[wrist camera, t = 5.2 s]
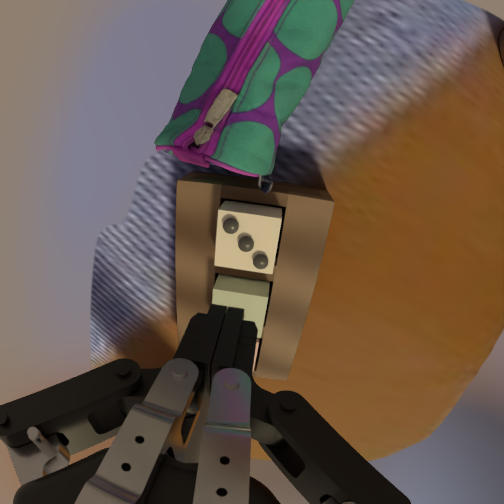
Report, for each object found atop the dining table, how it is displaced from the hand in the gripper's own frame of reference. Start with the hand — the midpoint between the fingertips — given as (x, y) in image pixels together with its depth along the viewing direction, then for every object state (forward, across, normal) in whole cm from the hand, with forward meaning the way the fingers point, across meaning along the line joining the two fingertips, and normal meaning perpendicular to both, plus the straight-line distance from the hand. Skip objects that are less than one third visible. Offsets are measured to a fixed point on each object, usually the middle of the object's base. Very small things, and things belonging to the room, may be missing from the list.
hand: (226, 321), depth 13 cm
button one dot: (+11, 0, +6) cm, 13 cm away
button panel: (+15, 0, +6) cm, 16 cm away
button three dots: (+11, 0, 0) cm, 11 cm away
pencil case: (+15, 0, -15) cm, 21 cm away
